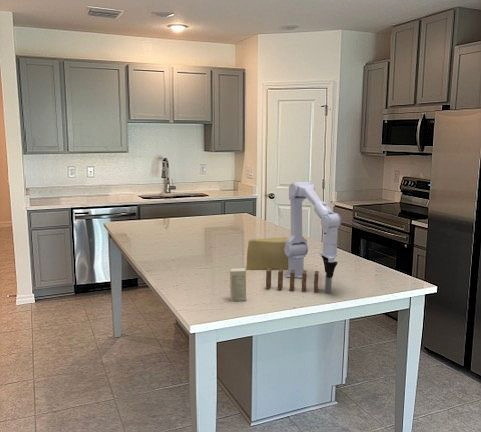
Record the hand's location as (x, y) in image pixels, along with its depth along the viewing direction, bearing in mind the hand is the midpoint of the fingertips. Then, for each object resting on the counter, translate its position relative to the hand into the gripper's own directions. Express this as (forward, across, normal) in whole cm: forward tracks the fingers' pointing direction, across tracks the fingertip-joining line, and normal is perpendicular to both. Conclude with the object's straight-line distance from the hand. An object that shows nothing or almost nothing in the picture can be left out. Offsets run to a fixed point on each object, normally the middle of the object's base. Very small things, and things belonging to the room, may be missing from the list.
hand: (328, 275), depth 200 cm
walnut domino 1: (+7, -2, -25) cm, 26 cm away
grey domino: (+7, 0, 0) cm, 7 cm away
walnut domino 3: (+7, -1, -15) cm, 17 cm away
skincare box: (+8, +14, -36) cm, 40 cm away
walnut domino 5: (+7, 0, -5) cm, 9 cm away
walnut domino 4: (+7, -1, -10) cm, 12 cm away
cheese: (+8, -33, -26) cm, 43 cm away
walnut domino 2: (+7, -2, -20) cm, 21 cm away
